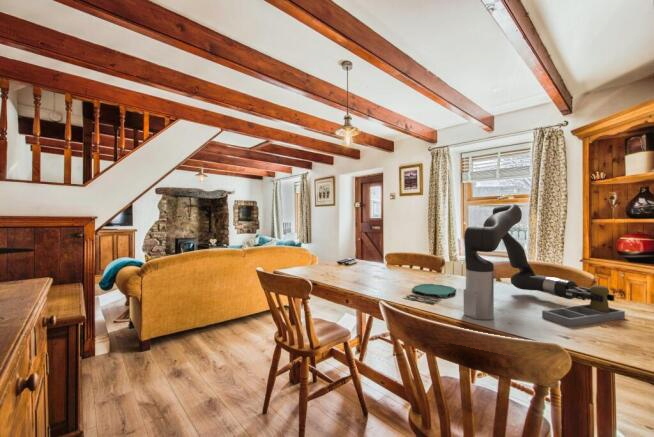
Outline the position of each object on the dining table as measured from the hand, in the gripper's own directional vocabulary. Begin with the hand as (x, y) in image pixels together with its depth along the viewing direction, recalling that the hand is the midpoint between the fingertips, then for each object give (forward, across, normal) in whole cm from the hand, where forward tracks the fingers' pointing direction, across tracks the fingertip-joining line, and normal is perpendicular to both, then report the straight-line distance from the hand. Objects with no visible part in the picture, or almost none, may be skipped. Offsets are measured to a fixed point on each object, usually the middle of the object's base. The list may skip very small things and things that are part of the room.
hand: (608, 298), depth 106 cm
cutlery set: (-47, -42, +8) cm, 63 cm away
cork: (-3, 0, +7) cm, 8 cm away
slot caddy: (-3, -9, +7) cm, 11 cm away
